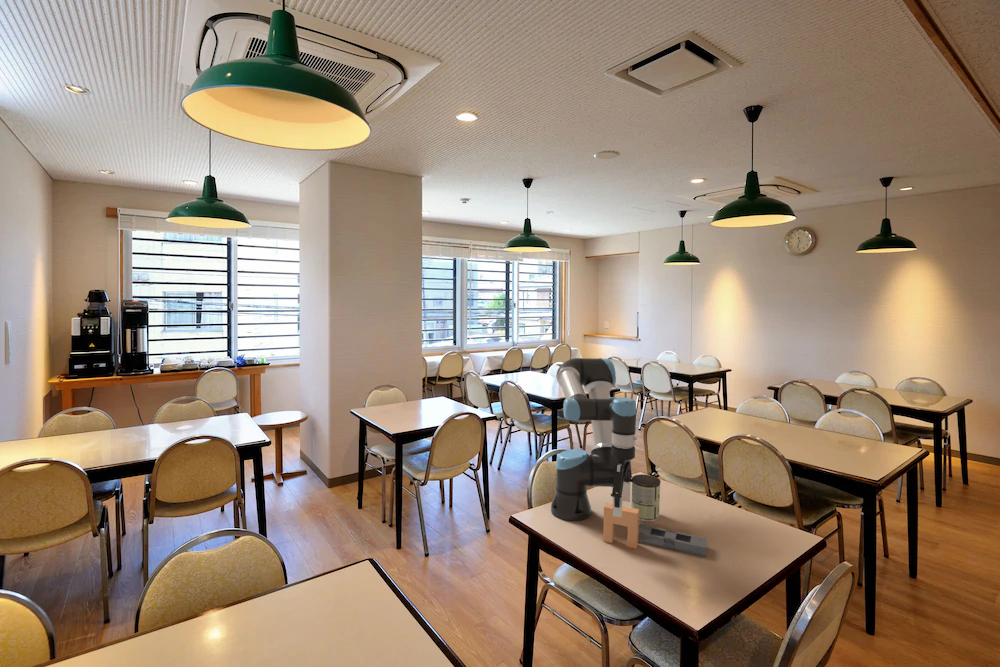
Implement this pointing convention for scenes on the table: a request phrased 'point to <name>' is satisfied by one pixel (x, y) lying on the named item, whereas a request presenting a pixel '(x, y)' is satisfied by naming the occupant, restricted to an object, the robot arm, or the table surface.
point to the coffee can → (646, 496)
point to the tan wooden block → (628, 519)
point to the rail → (672, 540)
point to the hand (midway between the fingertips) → (621, 508)
